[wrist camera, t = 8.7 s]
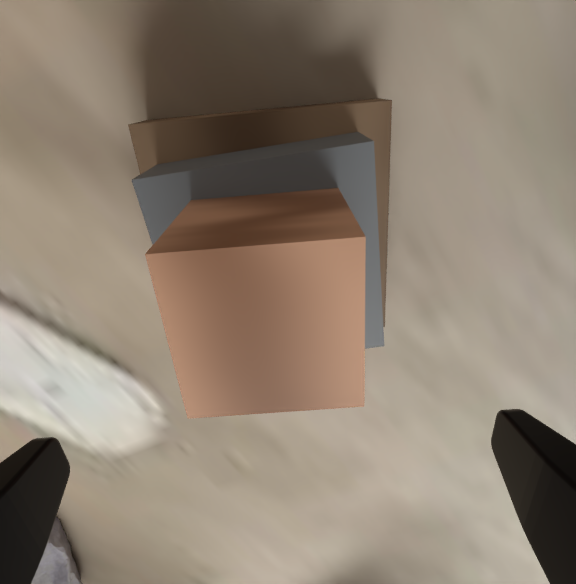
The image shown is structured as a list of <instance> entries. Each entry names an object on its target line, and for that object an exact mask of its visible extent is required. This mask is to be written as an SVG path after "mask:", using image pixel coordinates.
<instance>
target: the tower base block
mask: <svg viewBox="0 0 576 584" xmlns="http://www.w3.org/2000/svg"><path fill="white" fill-rule="evenodd" d="M391 109H392V100H385V99H369V100H358V101H348V102H337V103H326V104H315V105H305V106H294V107H283V108H273V109H262V110H251V111H240V112H230V113H219V114H208V115H198V116H187V117H176V118H165V119H155V120H146V121H142V122H138V123H134V124H129V125H128V126H129V130H130V134H131V138H132V142H133V146H134V150H135V154H136V158H137V162H138V166H139V170H140V175H141V174H142V173H144V172H146V171H147V170H149V169H150V168H152V167H154V166H155V165H157V164H163V163H169V162H175V161H181V160H187V159H193V158H199V157H206V156H212V155H218V154H224V153H230V152H236V151H243V150H249V149H255V148H261V147H267V146H273V145H279V144H286V143H292V142H298V141H304V140H310V139H316V138H322V137H329V136H335V135H341V134H347V133H353V132H359V133H361V134H363V135H365V136H366V137H368V138H370V139H371V140H373V141H374V153H375V173H376V193H377V212H378V232H379V252H380V272H381V292H382V312H383V327H385V301H386V269H387V237H388V205H389V173H390V141H391Z"/></svg>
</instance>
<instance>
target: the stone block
mask: <svg viewBox="0 0 576 584" xmlns="http://www.w3.org/2000/svg"><path fill="white" fill-rule="evenodd" d="M31 584H82V583H81V580H80V575H79V572H78V571H77V566H76V563H75V561H74V559H73V558H72V555H71V546H70V544H69V542H68V540H67V537H66V534H65V532H64V531H63V529H62V526H61V522H60V520H59V519H58V518H57V517H56V518H55V521H54V524H53V528H52V531H51V534H50V537H49V540H48V543H47V546H46V548H45V551H44V554H43V556H42V559H41V561H40V564H39V566H38V569H37V571H36V573H35V576H34V578H33V580H32V583H31Z"/></svg>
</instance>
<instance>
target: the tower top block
mask: <svg viewBox="0 0 576 584" xmlns="http://www.w3.org/2000/svg"><path fill="white" fill-rule="evenodd" d="M132 183H133V186H134V189H135V192H136V195H137V198H138V201H139V204H140V207H141V210H142V213H143V216H144V219H145V222H146V226H147V229H148V232H149V235H150V238H151V241H152V244H154V243H155V242H156V241H157V240H158V239H159V237H160V236H161V235H162V234H163V233H164V231H165V230H166V229H167V228H168V227H169V225H170V224H171V223H172V222H173V221H174V220H175V218H176V217H177V216H178V215H179V214H180V212H181V211H182V210H183V209H184V208H185V207H186V205H187V204H188V203H189V202H190V201H191V200H199V199H211V198H223V197H235V196H247V195H259V194H271V193H283V192H295V191H307V190H319V189H331V188H339V190H340V192H341V193H342V195H343V197H344V199H345V201H346V202H347V204H348V206H349V208H350V210H351V211H352V213H353V215H354V217H355V219H356V220H357V222H358V224H359V226H360V227H361V229H362V231H363V233H364V235H365V236H366V260H365V349H366V348H373V347H381V346H384V332H383V312H382V292H381V272H380V252H379V232H378V212H377V193H376V173H375V153H374V141H373V140H371V139H370V138H368V137H366V136H365V135H363V134H361V133H359V132H353V133H347V134H341V135H335V136H329V137H322V138H316V139H310V140H304V141H298V142H292V143H286V144H279V145H273V146H267V147H261V148H255V149H249V150H243V151H236V152H230V153H224V154H218V155H212V156H206V157H199V158H193V159H187V160H181V161H175V162H169V163H163V164H157V165H155V166H154V167H152V168H150V169H149V170H147V171H146V172H144V173H142V174H141V175H139V176H137V177H136V178H134V179H132Z"/></svg>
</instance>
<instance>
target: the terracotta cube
mask: <svg viewBox="0 0 576 584" xmlns="http://www.w3.org/2000/svg"><path fill="white" fill-rule="evenodd" d="M145 256H146V259H147V263H148V267H149V271H150V275H151V279H152V283H153V286H154V290H155V294H156V298H157V302H158V306H159V309H160V313H161V317H162V321H163V325H164V329H165V333H166V336H167V340H168V344H169V348H170V352H171V356H172V360H173V363H174V367H175V371H176V375H177V379H178V383H179V386H180V390H181V394H182V398H183V402H184V406H185V410H186V413H187V417H188V418H202V417H217V416H231V415H246V414H261V413H275V412H290V411H305V410H320V409H334V408H349V407H364V387H365V260H366V236H365V235H364V233H363V231H362V229H361V227H360V226H359V224H358V222H357V220H356V219H355V217H354V215H353V213H352V211H351V210H350V208H349V206H348V204H347V202H346V201H345V199H344V197H343V195H342V193H341V192H340V190H339V188H331V189H319V190H307V191H295V192H283V193H271V194H259V195H247V196H235V197H223V198H211V199H199V200H191V201H190V202H189V203H188V204H187V205H186V207H185V208H184V209H183V210H182V211H181V212H180V214H179V215H178V216H177V217H176V218H175V220H174V221H173V222H172V223H171V224H170V225H169V227H168V228H167V229H166V230H165V231H164V233H163V234H162V235H161V236H160V237H159V239H158V240H157V241H156V242H155V243H154V244H153V246H152V247H151V248H150V249H149V250H148V252H147V253H146V254H145Z"/></svg>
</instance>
